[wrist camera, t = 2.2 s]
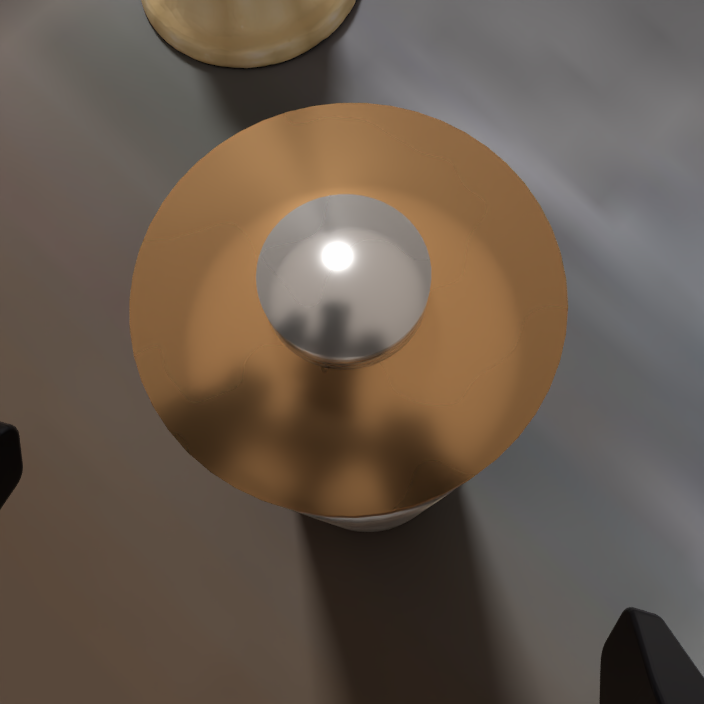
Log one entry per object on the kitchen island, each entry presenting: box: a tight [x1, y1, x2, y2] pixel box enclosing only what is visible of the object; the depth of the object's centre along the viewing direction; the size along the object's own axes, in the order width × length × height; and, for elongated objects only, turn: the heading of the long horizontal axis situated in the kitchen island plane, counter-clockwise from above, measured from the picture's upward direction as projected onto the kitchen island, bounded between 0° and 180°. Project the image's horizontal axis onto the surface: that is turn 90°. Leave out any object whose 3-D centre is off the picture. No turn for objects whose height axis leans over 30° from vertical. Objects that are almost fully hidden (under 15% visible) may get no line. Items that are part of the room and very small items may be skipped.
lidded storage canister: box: [130, 103, 568, 532], centre depth 13 cm, size 5×5×13 cm
